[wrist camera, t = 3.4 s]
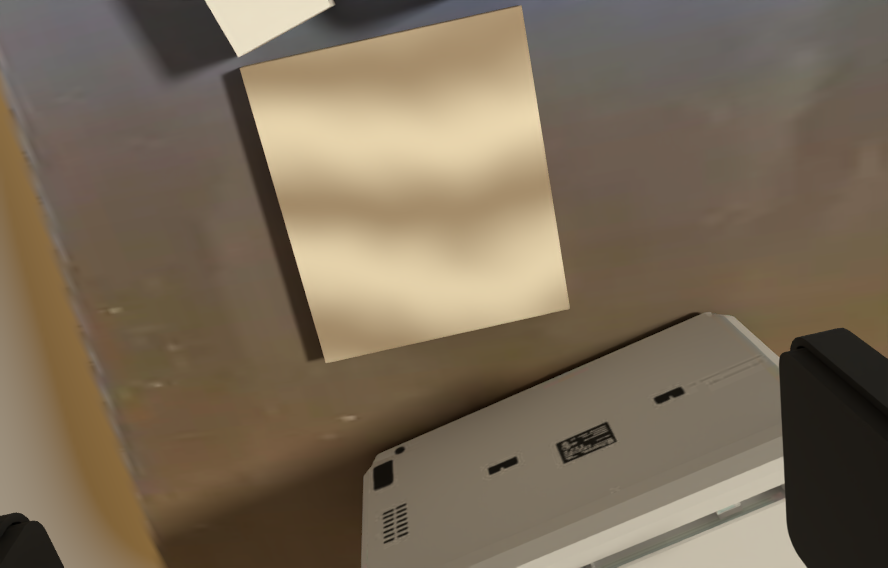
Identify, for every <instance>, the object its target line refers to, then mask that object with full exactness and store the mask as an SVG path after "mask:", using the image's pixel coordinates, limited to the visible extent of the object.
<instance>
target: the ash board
mask: <svg viewBox="0 0 888 568" xmlns="http://www.w3.org/2000/svg"><path fill="white" fill-rule="evenodd" d="M240 71H241V75H242V78H243V81H244V85H245V88H246V92H247V95H248V98H249V102H250V105H251V109H252V112H253V116H254V119H255V122H256V126H257V129H258V133H259V136H260V139H261V143H262V146H263V150H264V153H265V157H266V160H267V163H268V167H269V170H270V174H271V177H272V180H273V184H274V187H275V191H276V194H277V198H278V201H279V204H280V208H281V211H282V215H283V218H284V221H285V225H286V228H287V232H288V235H289V239H290V242H291V245H292V249H293V252H294V256H295V259H296V262H297V266H298V269H299V273H300V276H301V280H302V283H303V286H304V290H305V293H306V297H307V300H308V303H309V307H310V310H311V314H312V317H313V321H314V324H315V327H316V331H317V334H318V338H319V341H320V344H321V348H322V351H323V355H324V358H325V362H326V363H329V362H334V361H338V360H343V359H347V358H352V357H356V356H360V355H365V354H369V353H374V352H378V351H383V350H387V349H392V348H396V347H401V346H405V345H410V344H414V343H419V342H423V341H428V340H432V339H437V338H441V337H446V336H450V335H454V334H459V333H463V332H468V331H472V330H477V329H481V328H486V327H490V326H495V325H499V324H504V323H508V322H513V321H517V320H522V319H526V318H531V317H535V316H540V315H544V314H549V313H553V312H557V311H562V310H566V309H570V307H569V300H568V294H567V288H566V282H565V275H564V269H563V263H562V257H561V250H560V244H559V238H558V232H557V225H556V219H555V213H554V207H553V200H552V194H551V188H550V182H549V175H548V169H547V163H546V156H545V150H544V144H543V138H542V131H541V125H540V119H539V113H538V106H537V100H536V94H535V88H534V81H533V75H532V69H531V63H530V56H529V50H528V44H527V38H526V31H525V25H524V19H523V13H522V6H518V5H517V6H513V7H508V8H504V9H499V10H495V11H490V12H486V13H481V14H477V15H472V16H468V17H463V18H459V19H454V20H450V21H445V22H440V23H436V24H431V25H427V26H422V27H418V28H413V29H409V30H404V31H400V32H395V33H391V34H386V35H382V36H377V37H373V38H368V39H364V40H359V41H355V42H350V43H346V44H341V45H337V46H332V47H328V48H323V49H319V50H314V51H310V52H305V53H301V54H296V55H292V56H287V57H283V58H278V59H274V60H269V61H264V62H260V63H255V64H251V65H246V66H243V67H241V68H240Z"/></svg>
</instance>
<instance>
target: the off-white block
mask: <svg viewBox="0 0 888 568" xmlns="http://www.w3.org/2000/svg"><path fill="white" fill-rule="evenodd" d="M205 1H206V3H207V5H208V6H209V8H210V10H211V12H212V13H213V15H214V17H215V18H216V20H217V22H218V23H219V25H220V27H221V29H222V30H223V32H224V34H225V35H226V37H227V39H228V40H229V42H230V44H231V46H232V47H233V49H234V51H235V52H236V54H237V56H238V57H240V56H242V55H244V54H246V53H248V52H251V51H253V50H255V49H256V48H258V47H260V46H262V45H264V44H266V43H267V42H269V41H271V40H273V39H275V38H276V37H278V36H280V35H282V34H284V33H286V32H287V31H289V30H291V29H293V28H295V27H296V26H298V25H300V24H302V23H304V22H306V21H307V20H309V19H311V18H313V17H315V16H316V15H318V14H320V13H322V12H324V11H325V10H327V9H329V8H331V7H333V6H335V5H336V4H335V2H334V0H205Z"/></svg>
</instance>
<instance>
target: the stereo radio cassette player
mask: <svg viewBox="0 0 888 568" xmlns="http://www.w3.org/2000/svg"><path fill="white" fill-rule="evenodd" d="M779 359H780V358H779V357H778V356H777V355H776V354H775V353H774V352H772V351H771V350H770V349H769V348H768V347H767V346H766V345H765V344H764V343H762V342H761V341H760V340H759V339H758V338H757V337H756V336H755V335H754V334H752V333H751V332H750V331H749V330H748V329H747V328H746V327H745V326H744V325H742V324H741V323H740V322H739V321H738V320H737V319H736V318H735V317H734V316H731V315H719V314H716V313H714V314H712V313H711V312H705V313H702V314H700V315H698V316H696V317H693V318H691V319H689V320H686V321H684V322H682V323H679V324H677V325H675V326H672V327H670V328H668V329H665V330H663V331H661V332H659V333H656V334H654V335H652V336H649V337H647V338H645V339H642V340H640V341H638V342H635V343H633V344H631V345H629V346H626V347H624V348H622V349H619V350H617V351H615V352H612V353H610V354H608V355H605V356H603V357H601V358H599V359H596V360H594V361H592V362H589V363H587V364H585V365H582V366H580V367H578V368H576V369H573V370H571V371H569V372H566V373H564V374H562V375H559V376H557V377H555V378H552V379H550V380H548V381H546V382H543V383H541V384H539V385H536V386H534V387H532V388H529V389H527V390H525V391H522V392H520V393H518V394H516V395H513V396H511V397H509V398H506V399H504V400H502V401H499V402H497V403H495V404H492V405H490V406H488V407H486V408H483V409H481V410H479V411H476V412H474V413H472V414H469V415H467V416H465V417H462V418H460V419H458V420H456V421H453V422H451V423H449V424H446V425H444V426H442V427H439V428H437V429H435V430H432V431H430V432H428V433H426V434H423V435H421V436H419V437H416V438H414V439H412V440H409V441H407V442H405V443H402V444H400V445H398V446H396V447H393V448H391V449H389V450H386V451H384V452H382V453H379V454H378V455H377V456H376V457H375V460H374V461H373V464H372V466H371V467H370V468H369V470H368V471H367V472H366V474H365V475H364V477H363V515H362V552H361V568H807V567H806V566H805V564H804V563H803V562H802V560H801V559H800V558H799V556H798V554H797V553H796V551H795V549H794V547H793V545H792V543H791V540H790V537H789V534H788V530H787V523H786V502H785V481H784V461H783V440H782V419H781V399H780V378H779Z"/></svg>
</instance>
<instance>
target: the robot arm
mask: <svg viewBox="0 0 888 568" xmlns="http://www.w3.org/2000/svg"><path fill="white" fill-rule="evenodd" d="M779 378H780V399H781V419H782V440H783V461H784V481H785V502H786V523H787V530H788V534H789V537H790V540H791V543H792V545H793V547H794V549H795V551H796V553H797V554H798V556H799V558H800V559H801V560H802V562H803V563H804V564H805V566H806V567H807V568H888V359H887V358H886V357H884V356H883V355H882V354H880V353H879V352H877V351H876V350H875V349H873V348H872V347H871V346H869V345H868V344H867V343H865V342H864V341H862V340H861V339H860V338H858V337H857V336H856V335H854V334H853V333H852V332H850V331H849V330H847V329H844V328H837V329H833V330H828V331H824V332H819V333H815V334H810V335H806V336H801V337H797V338H795V339H794V340H793V341H792V344H791V347H790V351H788V352H784V353H782V354H781V356H780V359H779ZM0 568H64V566H63V564H62V562H61V560H60V558H59V556H58V554H57V552H56V550H55V548H54V546H53V544H52V542H51V540H50V538H49V536H48V534H47V532H46V530H45V528H44V527H43V525H42V524H40V523H39V522H38V521H29V519H28V518H27V517H25V516H24V515H23V514H21V513H11V514H7V515H2V516H0Z"/></svg>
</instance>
